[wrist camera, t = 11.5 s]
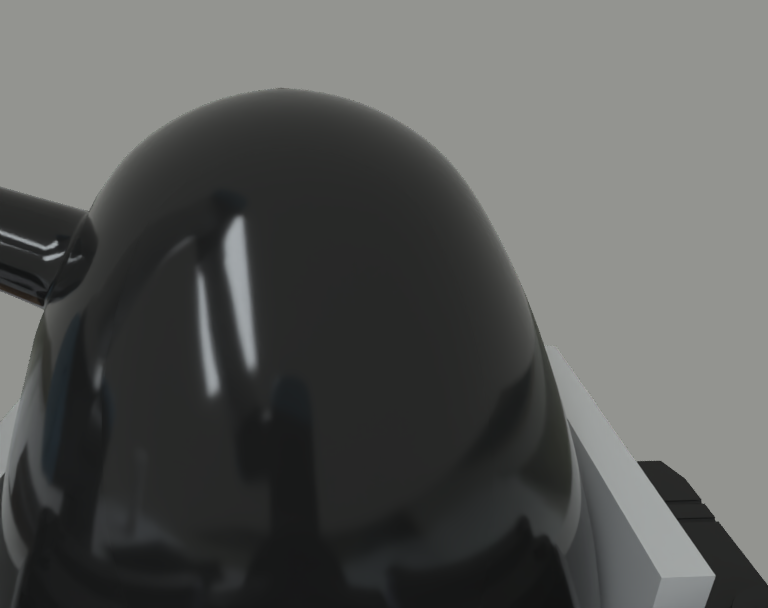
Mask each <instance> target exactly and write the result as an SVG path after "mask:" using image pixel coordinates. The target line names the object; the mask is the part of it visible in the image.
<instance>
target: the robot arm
mask: <svg viewBox="0 0 768 608" xmlns="http://www.w3.org/2000/svg"><path fill="white" fill-rule="evenodd" d="M545 349H546V352H547V355H548V358H549V361H550V364H551V367H552V370H553V373H554V377H555V380H556V383H557V386H558V389H559V393H560V396H561V399H562V403H563V406H564V410H565V413H566V417H567V420H568V424H569V428H570V432H571V435H572V439H573V443H574V447H575V451H576V455H577V459H578V463H579V467H580V472H581V476H582V480H583V485H584V490H585V494H586V499H587V505H588V510H589V515H590V521H591V527H592V533H593V539H594V545H595V552H596V559H597V567H598V576H599V585H600V595H601V606H602V608H768V585H767V584H766V582H765V581H764V580H763V579H762V577H761V576H760V575H759V573H758V572H757V571H756V570H755V568H754V567H753V566H752V564H751V563H750V562H749V560H748V559H747V558H746V557H745V555H744V554H743V553H742V551H741V550H740V549H739V548H738V546H737V545H736V544H735V543H734V541H733V540H732V539H731V537H730V536H729V535H728V533H727V532H726V531H725V530H724V528H723V527H722V526H721V524H719V522H716V521H715V517H714V515H713V514H712V513H711V512H710V510H709V509H708V508H707V506H706V505H705V504H702V503H701V499H700V498H699V496H698V495H697V494H696V493H695V491H694V490H693V488H692V487H691V486H690V484H689V483H688V482H687V481H686V479H685V478H683V477H682V476H681V475H679V474H678V473H677V472H675V471H674V470H672V469H671V468H670V467H668V466H667V465H666V464H664V463H663V462H661V461H636V460H635V459H634V457H633V456H632V455H631V453H630V452H629V450H628V449H627V447H626V446H625V444H624V443H623V442H622V440H621V439H620V437H619V436H618V434H617V433H616V431H615V430H614V429H613V427H612V426H611V424H610V423H609V421H608V420H607V418H606V417H605V416H604V414H603V413H602V411H601V410H600V409H599V407H598V406H597V404H596V403H595V401H594V400H593V398H592V397H591V395H590V394H589V393H588V391H587V390H586V388H585V387H584V385H583V384H582V383H581V381H580V380H579V378H578V377H577V375H576V374H575V372H574V371H573V370H572V368H571V367H570V365H569V364H568V362H567V361H566V359H565V358H564V357H563V355H562V354H561V352H560V351H559V349H558V348H557V347H556V346H545ZM19 403H20V399H19V401H18V402H17V403H16V404H15V405H14V406H13V407H12V409H11V410H10V411H9V412H8V413H7V414H6V416H5V417H4V418H3V419H2V420H1V421H0V505H1V497H2V490H3V483H4V477H5V471H6V465H7V459H8V454H9V448H10V443H11V438H12V433H13V429H14V424H15V420H16V415H17V411H18V407H19Z"/></svg>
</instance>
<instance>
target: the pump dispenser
mask: <svg viewBox="0 0 768 608" xmlns="http://www.w3.org/2000/svg"><path fill="white" fill-rule="evenodd" d="M0 291H1V292H4V293H7V294H8V295H11V296H14V297H16V298H18V299H21V300H23V301H26V302H28V303H30V304H33V305H35V306H37V307H39V308H41V309H44V313H43V315H42V318H41V320H40V323H39V326H38V329H37V332H36V335H35V338H34V342H33V347H32V351H31V356H30V360H29V364H28V369H27V373H26V377H25V382H24V386H23V390H22V394H21V398H20V403H19V407H18V411H17V415H16V420H15V424H14V429H13V433H12V438H11V443H10V448H9V454H8V459H7V465H6V471H5V477H4V483H3V490H2V497H1V505H0V608H602V606H601V595H600V585H599V576H598V567H597V559H596V552H595V545H594V539H593V533H592V527H591V521H590V515H589V510H588V505H587V499H586V494H585V490H584V485H583V480H582V476H581V472H580V467H579V463H578V459H577V455H576V451H575V447H574V443H573V439H572V435H571V432H570V428H569V424H568V420H567V417H566V413H565V410H564V406H563V403H562V399H561V396H560V393H559V389H558V386H557V383H556V380H555V377H554V373H553V370H552V367H551V364H550V361H549V358H548V355H547V352H546V349H545V346H544V344H543V341H542V338H541V335H540V332H539V329H538V326H537V324H536V321H535V318H534V315H533V313H532V310H531V308H530V305H529V302H528V300H527V297H526V295H525V293H524V290H523V288H522V285H521V283H520V281H519V279H518V276H517V274H516V272H515V270H514V267H513V265H512V263H511V261H510V259H509V257H508V255H507V252H506V250H505V249H504V247H503V244H502V243H501V240H500V238H499V237H498V235H497V233H496V231H495V229H494V227H493V225H492V223H491V222H490V220H489V218H488V216H487V214H486V213H485V211H484V209H483V208H482V206H481V204H480V203H479V201H478V199H477V198H476V196H475V195H474V193H473V191H472V190H471V189H470V187H469V186H468V184H467V183H466V181H465V180H464V178H463V177H462V176H461V175H460V173H459V172H458V171H457V169H456V168H455V167H454V166H453V165H452V164H451V162H449V160H448V159H447V158H446V157H445V156H444V155H443V154H442V153H441V152H440V151H439V150H438V149H437V148H436V147H435V146H433V145H432V144H431V143H430V142H428V141H427V140H426V139H425V138H424V137H422V136H421V135H419V134H418V133H416V132H415V131H414V130H412V129H411V128H409V127H408V126H406V125H404V124H403V123H401V122H399V121H398V120H396V119H394V118H393V117H390V116H389V115H387V114H385V113H383V112H381V111H379V110H376V109H374V108H372V107H369V106H367V105H364V104H362V103H359V102H356V101H353V100H350V99H346V98H343V97H340V96H335V95H330V94H326V93H321V92H314V91H308V90H300V89H289V88H276V89H268V90H259V91H253V92H248V93H242V94H238V95H234V96H230V97H226V98H222V99H219V100H216V101H213V102H210V103H208V104H205V105H202V106H200V107H198V108H196V109H193V110H191V111H189V112H187V113H185V114H183V115H181V116H179V117H178V118H176V119H174V120H172V121H170V122H169V123H167V124H166V125H164V126H162V127H161V128H159V129H158V130H156V131H155V132H153V133H152V134H151V135H150V136H148V137H147V138H146V139H144V140H143V141H142V142H141V143H139V144H138V145H137V146H136V147H135V148H134V149H133V150H132V151H131V152H130V153H129V154H128V155H127V156H126V157H125V158H124V159H123V161H122V162H121V163H120V164H119V165H118V167H117V168H116V169H115V171H114V172H113V173H112V175H111V176H110V178H109V179H108V181H107V182H106V183H105V185H104V186H103V188H102V189H101V191H100V192H99V194H98V196H97V197H96V199H95V201H94V203H93V205H92V207H91V209H90V211H87V210H82V209H78V208H74V207H71V206H67V205H63V204H60V203H57V202H53V201H49V200H46V199H42V198H39V197H35V196H31V195H28V194H24V193H20V192H17V191H14V190H10V189H7V188H3V187H0Z"/></svg>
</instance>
